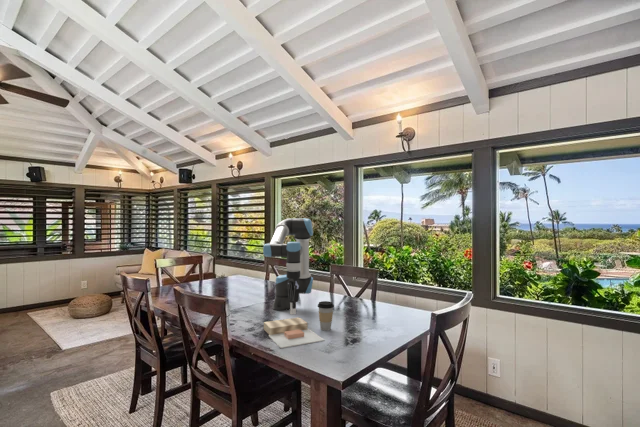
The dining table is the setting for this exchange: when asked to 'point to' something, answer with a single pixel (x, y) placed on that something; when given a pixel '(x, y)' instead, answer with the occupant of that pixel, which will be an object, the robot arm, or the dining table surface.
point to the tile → (294, 334)
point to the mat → (296, 339)
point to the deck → (285, 325)
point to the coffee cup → (325, 315)
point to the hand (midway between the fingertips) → (293, 313)
